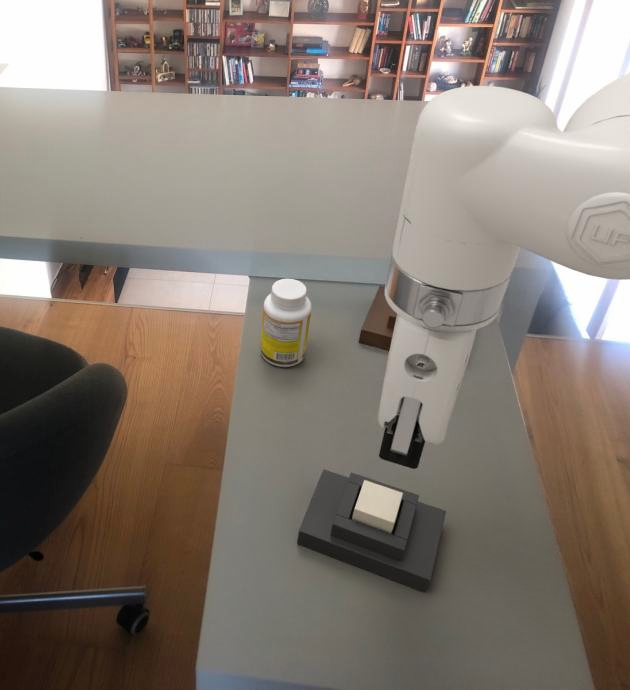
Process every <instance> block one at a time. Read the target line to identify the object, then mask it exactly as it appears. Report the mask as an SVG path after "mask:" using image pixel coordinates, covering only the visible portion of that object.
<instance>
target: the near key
mask: <svg viewBox="0 0 630 690" xmlns="http://www.w3.org/2000/svg"><path fill="white" fill-rule="evenodd" d="M402 495H403V493H402V492H399V491H396V490H393V489H390V488H387V487H384V486H381V485H378V484H375V483H372V482H369V481H366V480H364V482H363V485H362V488H361V491H360V494H359V497H358V500H357V503H356V506H355V509H354V513H353V517H352V520H354V521H357V522H359V523H362V524H365V525H368V526H370V527H373V528H376V529H379V530H382V531H384V532H387V533H390V534H391V533H392V530H393V527H394V524H395V520H396V517H397V513H398V509H399V506H400V502H401V499H402Z"/></svg>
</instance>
